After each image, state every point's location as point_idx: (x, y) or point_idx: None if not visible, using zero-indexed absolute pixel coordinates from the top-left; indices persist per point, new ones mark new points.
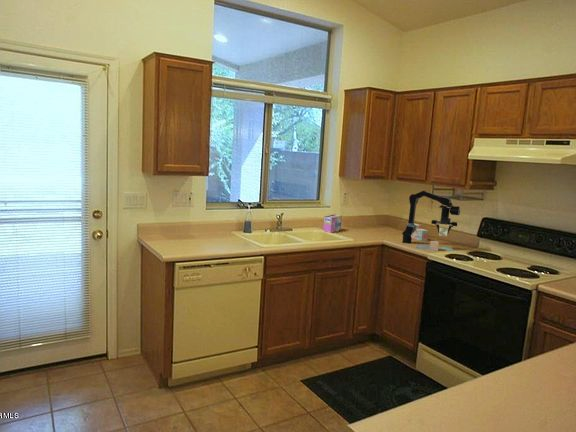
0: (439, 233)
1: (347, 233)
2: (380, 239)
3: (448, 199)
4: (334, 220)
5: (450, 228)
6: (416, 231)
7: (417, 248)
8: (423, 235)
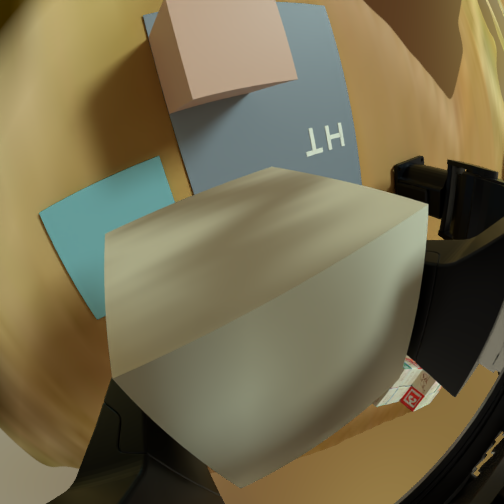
0: (290, 175)
1: (498, 169)
2: (464, 152)
3: None
4: None
5: (81, 471)
6: (410, 361)
7: (314, 5)
8: None
